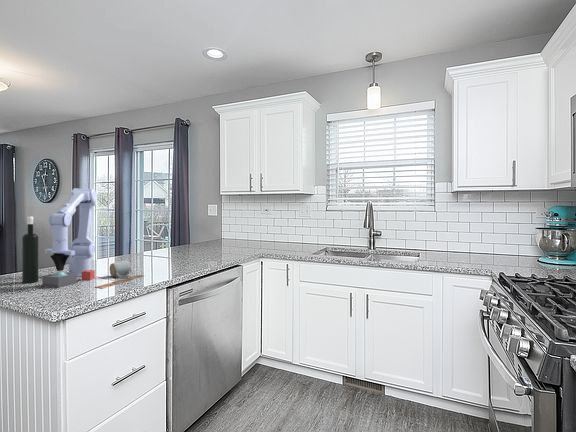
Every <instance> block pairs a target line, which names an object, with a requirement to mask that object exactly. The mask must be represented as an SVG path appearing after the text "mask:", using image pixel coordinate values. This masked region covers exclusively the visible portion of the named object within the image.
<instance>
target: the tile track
mask: <svg viewBox="0 0 576 432" xmlns="http://www.w3.org/2000/svg"><path fill="white" fill-rule="evenodd" d="M142 277H143V278H144V277H145V275H142V274H135V275H133V276H129V277H128V278H120V279H119V280H115V281H112V282H108V283H104V284H101V285H97V286H94V288H96V289H106V288H109V287H112V286H116V285H119V284H123V283H125V282H129V281H132V280H135V279H139V278H142Z"/></svg>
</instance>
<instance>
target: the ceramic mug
mask: <svg viewBox="0 0 576 432" xmlns="http://www.w3.org/2000/svg"><path fill="white" fill-rule="evenodd" d="M131 273H132V265H131V262H130V261H129V260H127V259H126V260H121V261H116V262H112V263H111V264H110V265H109V274H110V277H113V278H119V279H126V278H128V277H131V276H130V275H131Z"/></svg>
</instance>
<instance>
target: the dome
mask: <svg viewBox="0 0 576 432" xmlns="http://www.w3.org/2000/svg"><path fill="white" fill-rule="evenodd" d="M64 272H65V271H63V270H61V271H57V272H55V273H56V274H54V275H52V276H58V277H60V276H64V275H68V274H65V273H64Z"/></svg>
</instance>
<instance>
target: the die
mask: <svg viewBox="0 0 576 432" xmlns="http://www.w3.org/2000/svg"><path fill="white" fill-rule="evenodd" d="M95 271H96V270H93V269H91V270H85V271H83V272H82V276H81V281H92V280H95V277H96V276H95V275H96V273H95Z"/></svg>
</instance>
